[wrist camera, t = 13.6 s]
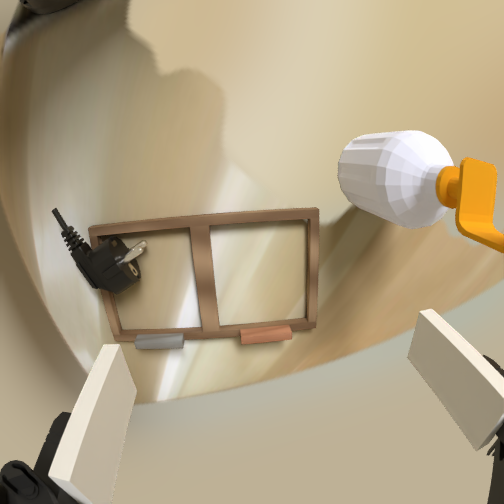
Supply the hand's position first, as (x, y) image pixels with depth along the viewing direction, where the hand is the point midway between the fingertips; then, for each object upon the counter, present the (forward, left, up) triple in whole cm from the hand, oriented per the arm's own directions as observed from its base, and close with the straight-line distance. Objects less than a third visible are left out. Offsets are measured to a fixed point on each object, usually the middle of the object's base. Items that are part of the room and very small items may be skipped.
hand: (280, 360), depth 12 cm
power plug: (-6, -18, -20) cm, 28 cm away
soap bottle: (-6, +15, -23) cm, 28 cm away
